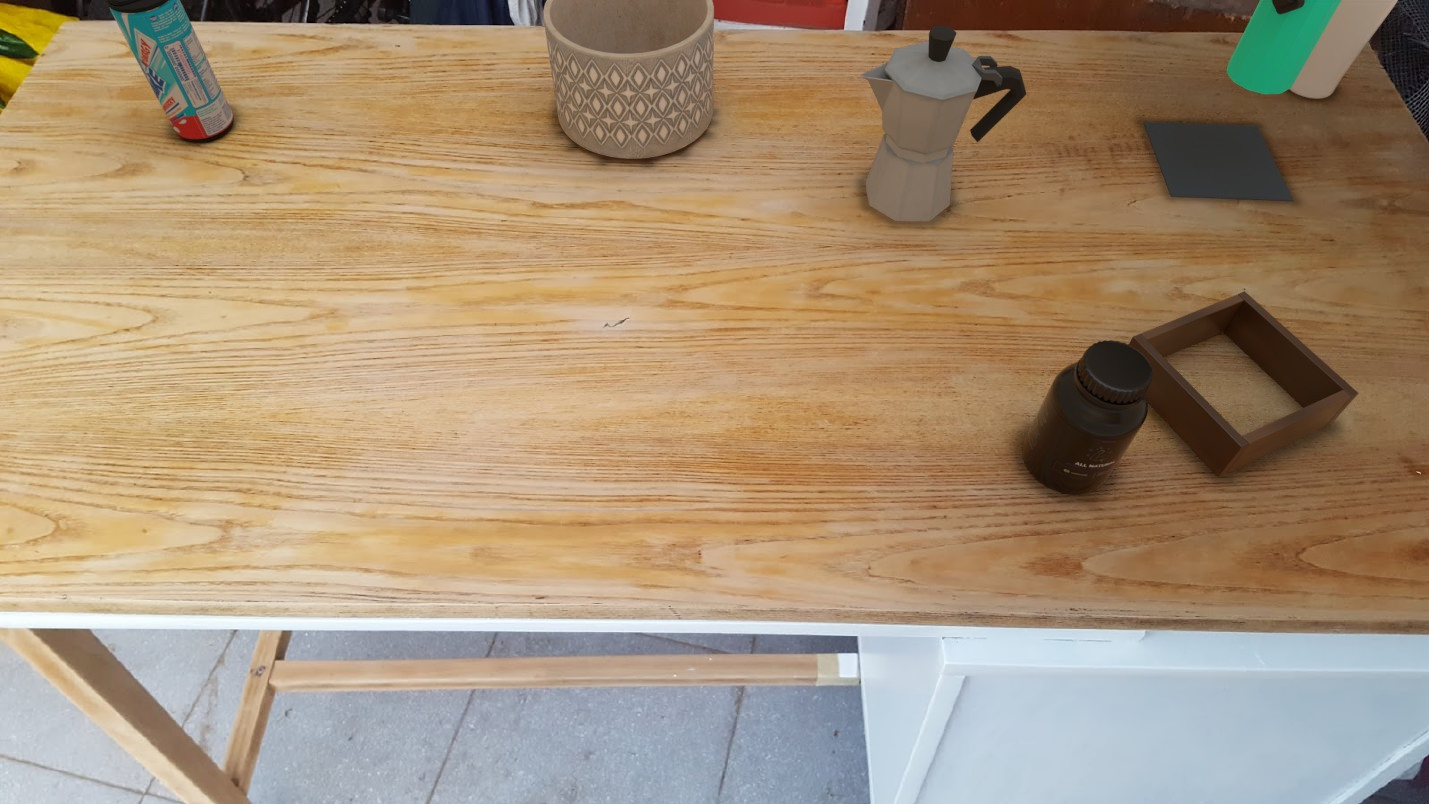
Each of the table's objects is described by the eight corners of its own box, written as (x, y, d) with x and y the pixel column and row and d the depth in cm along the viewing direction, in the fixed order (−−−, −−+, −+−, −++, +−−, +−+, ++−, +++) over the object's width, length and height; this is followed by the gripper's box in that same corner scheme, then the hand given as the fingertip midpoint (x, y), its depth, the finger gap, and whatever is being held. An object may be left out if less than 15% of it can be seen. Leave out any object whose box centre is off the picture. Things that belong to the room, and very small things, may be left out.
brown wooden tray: (1221, 327, 84) (1244, 290, 80) (1328, 427, 77) (1359, 393, 74) (1113, 372, 81) (1132, 336, 77) (1215, 480, 74) (1241, 447, 70)
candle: (1212, 64, 90) (1273, -61, 81) (1263, 51, 91) (1329, -73, 82) (1255, 100, 87) (1323, -26, 77) (1307, 86, 88) (1381, -39, 79)
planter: (729, 87, 105) (731, -24, 95) (690, 181, 95) (688, 69, 85) (588, 64, 107) (576, -46, 97) (536, 154, 97) (517, 42, 87)
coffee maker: (846, 228, 91) (873, 61, 77) (838, 169, 96) (861, 3, 82) (1000, 227, 91) (1056, 61, 77) (983, 169, 97) (1032, 3, 82)
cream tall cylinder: (1277, 101, 104) (1351, -32, 92) (1270, 66, 108) (1340, -65, 96) (1342, 110, 103) (1425, -22, 91) (1333, 75, 107) (1411, -56, 95)
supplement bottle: (1072, 514, 72) (1128, 421, 62) (1002, 456, 75) (1045, 359, 66) (1126, 467, 75) (1188, 370, 65) (1056, 413, 78) (1106, 313, 68)
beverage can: (182, 112, 101) (112, -23, 89) (239, 108, 102) (178, -27, 90) (172, 147, 98) (97, 12, 86) (231, 142, 98) (166, 6, 86)
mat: (1254, 130, 101) (1257, 125, 100) (1291, 205, 94) (1294, 200, 93) (1141, 126, 101) (1143, 121, 101) (1168, 200, 94) (1171, 195, 93)
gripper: (1257, -213, 73) (1297, 8, 76) (1390, -242, 77) (1422, -31, 80) (1181, -166, 80) (1220, 34, 83) (1306, -195, 84) (1339, -3, 87)
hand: (1319, 1), depth 82 cm, fingers closed on candle, 6 cm apart
